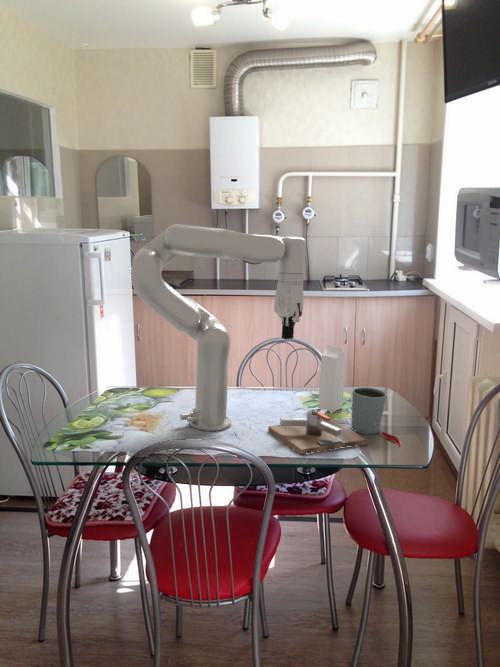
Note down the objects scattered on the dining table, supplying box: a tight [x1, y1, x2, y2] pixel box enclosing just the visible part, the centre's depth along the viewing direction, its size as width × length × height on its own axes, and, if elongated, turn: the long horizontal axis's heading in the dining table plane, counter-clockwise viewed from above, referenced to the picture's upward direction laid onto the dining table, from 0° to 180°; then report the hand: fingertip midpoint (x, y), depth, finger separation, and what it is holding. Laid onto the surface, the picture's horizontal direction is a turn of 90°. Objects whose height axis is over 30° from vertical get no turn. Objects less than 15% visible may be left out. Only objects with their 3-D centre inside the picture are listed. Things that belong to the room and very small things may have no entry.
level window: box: [317, 438, 342, 446], centre depth 167 cm, size 7×2×1 cm, turn 116°
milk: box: [317, 344, 347, 412], centre depth 200 cm, size 6×6×22 cm
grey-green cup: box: [351, 387, 387, 435], centre depth 183 cm, size 10×10×12 cm
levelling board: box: [267, 418, 368, 456], centre depth 175 cm, size 22×19×2 cm
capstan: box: [279, 409, 341, 436], centre depth 175 cm, size 16×18×6 cm
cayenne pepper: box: [379, 431, 403, 447], centre depth 176 cm, size 12×5×2 cm, turn 5°
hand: (287, 338), depth 181 cm, fingers closed
